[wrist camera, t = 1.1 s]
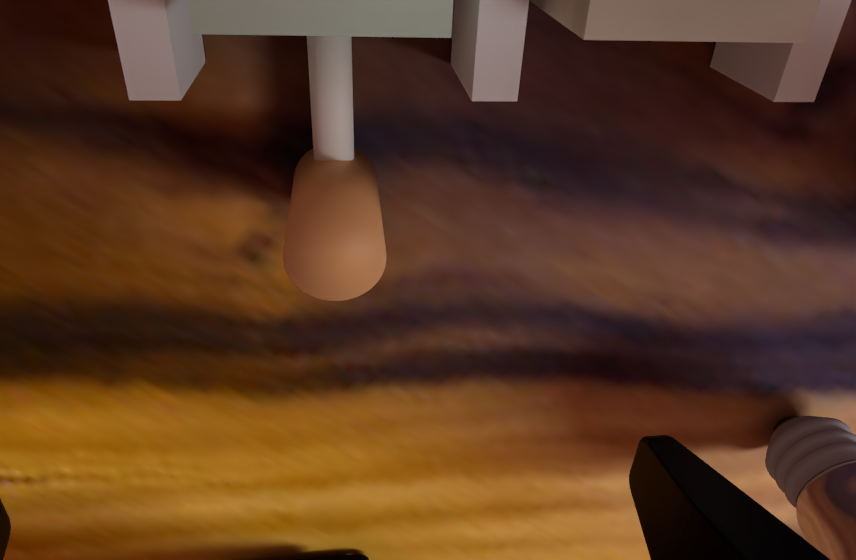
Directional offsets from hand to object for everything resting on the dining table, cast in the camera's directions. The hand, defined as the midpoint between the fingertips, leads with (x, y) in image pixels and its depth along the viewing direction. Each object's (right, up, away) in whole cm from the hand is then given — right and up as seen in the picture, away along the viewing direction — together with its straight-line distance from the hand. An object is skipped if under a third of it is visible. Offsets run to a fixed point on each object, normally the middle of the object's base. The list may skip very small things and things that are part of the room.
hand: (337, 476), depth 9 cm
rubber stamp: (-1, +9, +6) cm, 11 cm away
